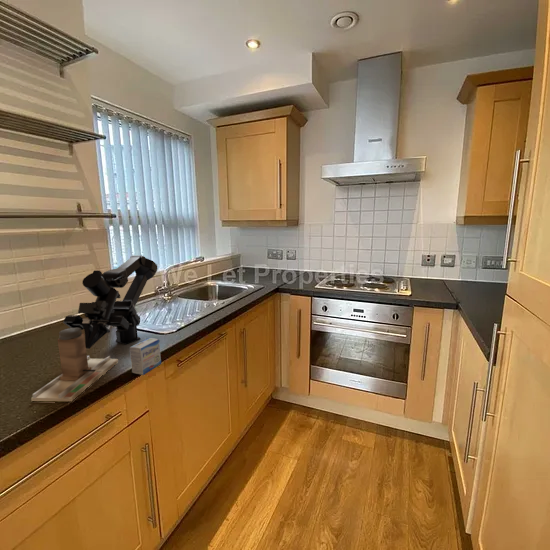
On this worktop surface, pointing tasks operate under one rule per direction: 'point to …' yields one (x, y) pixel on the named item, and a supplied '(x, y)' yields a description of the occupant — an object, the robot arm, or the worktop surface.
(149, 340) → the medicine box
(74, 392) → the scale board
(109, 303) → the robot arm
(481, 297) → the worktop surface
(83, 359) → the post
